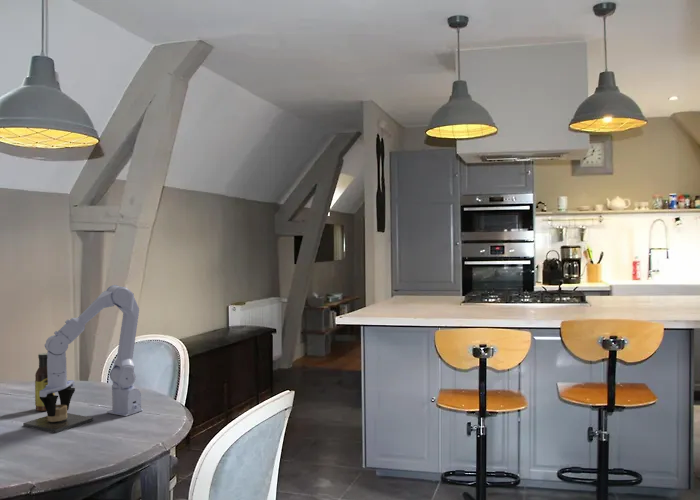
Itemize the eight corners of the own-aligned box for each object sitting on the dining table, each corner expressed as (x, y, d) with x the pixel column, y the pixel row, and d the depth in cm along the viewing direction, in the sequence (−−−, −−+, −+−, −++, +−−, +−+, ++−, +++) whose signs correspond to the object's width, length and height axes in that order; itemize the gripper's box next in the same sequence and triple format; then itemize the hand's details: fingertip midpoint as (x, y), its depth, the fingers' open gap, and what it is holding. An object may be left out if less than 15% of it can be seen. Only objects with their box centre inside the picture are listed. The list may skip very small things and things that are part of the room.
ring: (68, 415, 211) (67, 403, 211) (65, 420, 206) (64, 408, 205) (49, 417, 209) (49, 405, 209) (46, 422, 204) (46, 410, 204)
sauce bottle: (47, 412, 221) (45, 356, 220) (31, 411, 222) (29, 355, 221) (59, 407, 227) (57, 352, 226) (44, 406, 228) (42, 351, 228)
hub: (92, 420, 210) (92, 404, 210) (55, 432, 198) (55, 415, 197) (61, 414, 217) (60, 399, 217) (23, 426, 205) (22, 409, 205)
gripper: (61, 366, 215) (62, 406, 215) (30, 376, 201) (32, 418, 201) (79, 367, 213) (80, 407, 214) (49, 377, 199) (51, 420, 200)
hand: (58, 413), depth 207 cm, fingers closed on ring, 6 cm apart
